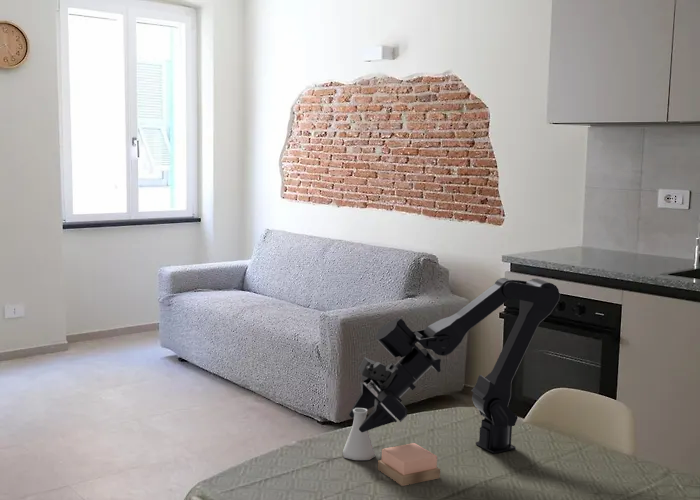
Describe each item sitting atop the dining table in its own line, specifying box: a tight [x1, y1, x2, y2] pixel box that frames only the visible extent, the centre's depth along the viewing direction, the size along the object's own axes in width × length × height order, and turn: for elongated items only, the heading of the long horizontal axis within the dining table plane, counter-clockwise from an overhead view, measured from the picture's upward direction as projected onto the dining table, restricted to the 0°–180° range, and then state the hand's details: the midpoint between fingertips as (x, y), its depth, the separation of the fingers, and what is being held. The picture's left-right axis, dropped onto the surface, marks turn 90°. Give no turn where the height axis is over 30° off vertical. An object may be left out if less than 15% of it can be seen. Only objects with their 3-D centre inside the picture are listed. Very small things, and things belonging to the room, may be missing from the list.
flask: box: [341, 408, 376, 461], centre depth 172 cm, size 7×7×10 cm
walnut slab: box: [377, 459, 441, 487], centre depth 163 cm, size 9×9×2 cm
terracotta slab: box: [380, 442, 438, 475], centre depth 163 cm, size 8×8×2 cm
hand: (355, 423), depth 171 cm, fingers open, 9 cm apart
